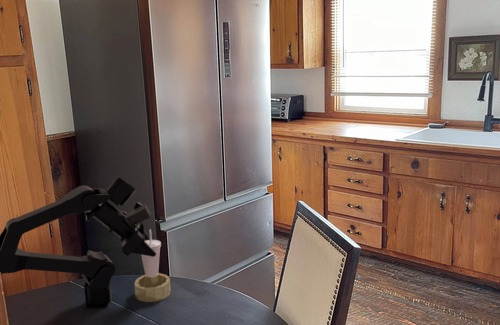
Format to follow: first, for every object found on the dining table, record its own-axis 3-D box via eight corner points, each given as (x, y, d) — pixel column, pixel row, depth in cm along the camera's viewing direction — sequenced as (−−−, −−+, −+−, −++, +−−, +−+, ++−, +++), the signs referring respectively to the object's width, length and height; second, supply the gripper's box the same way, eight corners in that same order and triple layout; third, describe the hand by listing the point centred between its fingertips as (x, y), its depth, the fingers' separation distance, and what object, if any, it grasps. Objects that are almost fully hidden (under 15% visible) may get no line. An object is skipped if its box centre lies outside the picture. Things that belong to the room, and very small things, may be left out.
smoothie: (150, 281, 133) (147, 234, 131) (136, 275, 137) (132, 230, 135) (167, 273, 138) (164, 228, 136) (152, 268, 142) (149, 224, 140)
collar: (133, 302, 134) (132, 289, 133) (139, 286, 144) (138, 274, 143) (168, 301, 135) (167, 288, 134) (171, 284, 145) (171, 272, 144)
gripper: (131, 207, 123) (176, 242, 128) (132, 188, 141) (171, 220, 146) (102, 238, 123) (148, 272, 128) (106, 216, 141) (146, 246, 146)
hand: (154, 251), depth 137 cm, fingers closed on smoothie, 6 cm apart
